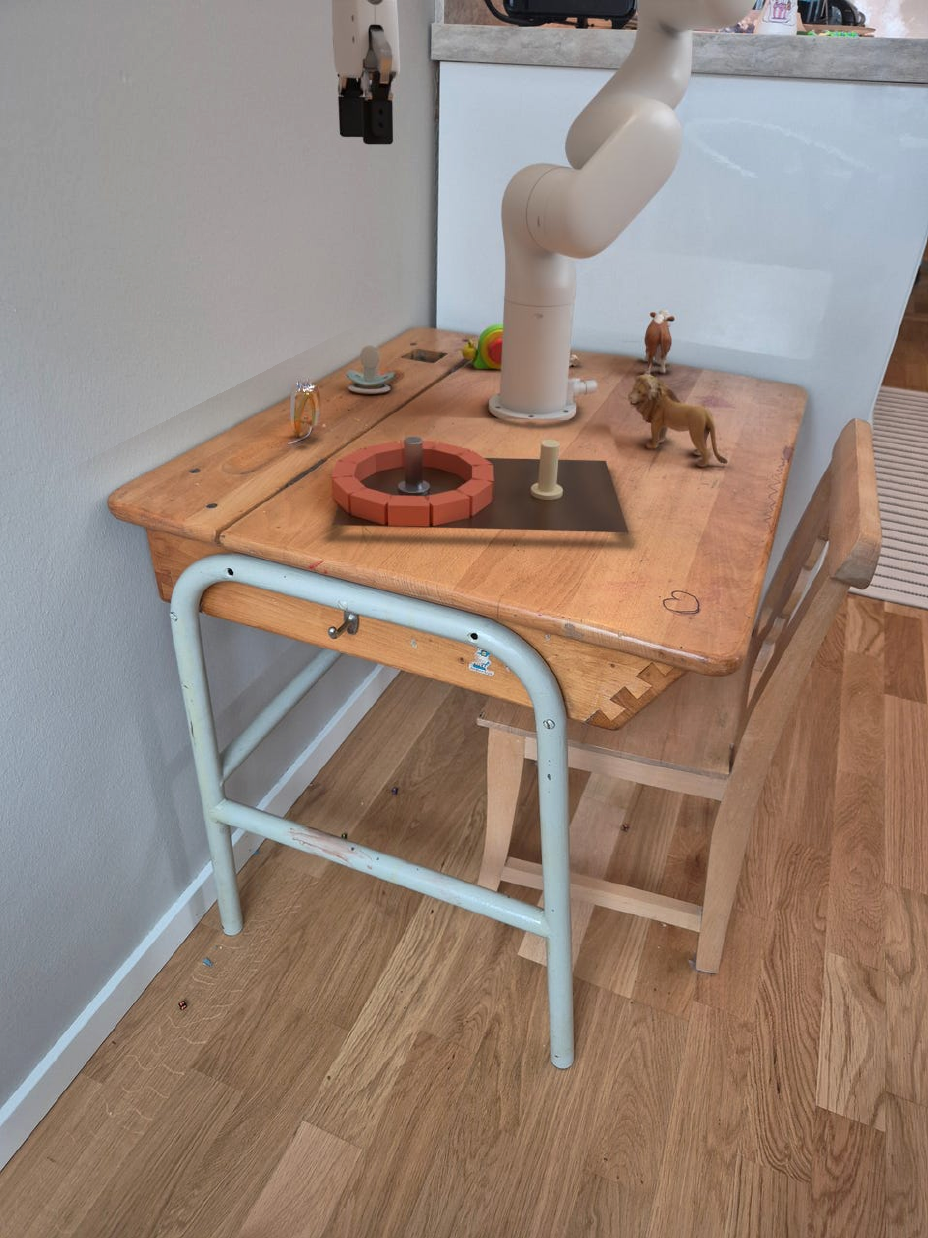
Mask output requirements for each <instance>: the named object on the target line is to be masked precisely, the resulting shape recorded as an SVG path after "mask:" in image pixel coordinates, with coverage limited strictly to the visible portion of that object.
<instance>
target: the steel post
mask: <svg viewBox="0 0 928 1238" xmlns="http://www.w3.org/2000/svg"><path fill="white" fill-rule="evenodd" d="M403 441H404V457H405V481H402V482H400V483H399V484H398V492H399V493H400V494H402V495H404V496H424V495H426V494H428V493H429V491H430V485H429V483H428V482H426V481H423V445H422V441H423V439H422V437H418V436H408V437H406V438H404V440H403Z"/></svg>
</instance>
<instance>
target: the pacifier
mask: <svg viewBox="0 0 928 1238" xmlns="http://www.w3.org/2000/svg"><path fill="white" fill-rule="evenodd" d="M359 360H360V363H361V365H362V367H363V373H361V372H358V371H355V370H351V369H348V370H346V371H345V372H346V376H347V378H348V380H350V381H351V382H353V383H351V384H348V386H347V389H348V390H349V391H351V392H353V393H358V394H364V395H365V394H366V395H375V394H384V393H387V392H389V391H390V390H391V387H390V386H389V385H387V384H386V383H387V382H389V381H390V380H391V379H392V378H393V377H394V376H395V374H396V373H395V371H391V372H388V373H384V374H381V375H379V371H378V369H379V368H378V365H379V364H380V361H381V354H380V351H379V350H378V348H376V346H374V345H366V346H364V347H363V348H362V349H361V350H360V353H359Z"/></svg>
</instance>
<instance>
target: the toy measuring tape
mask: <svg viewBox="0 0 928 1238" xmlns="http://www.w3.org/2000/svg"><path fill="white" fill-rule="evenodd" d="M502 336H503V323H495V324H491V325H490V326H488V327H486V328H485V329H484V330H483V331H482V332H481V334H480V335H479V338H478V341H477V347H476V346H475V343H474V341H473V339H469V340H468V341H467V344H465V345H464V346H463V347H462V350H461V354H462V356H463V358H464V359H466V360H469V361H471V360H472V366H473V367H474V369H475V370H485V369H486V370H492V369H493V370H501V359H502ZM579 363H580V359H579V358H578V356H577V355H576V354H570V361H569V367H571V366H573V367H576V366H578V365H579Z"/></svg>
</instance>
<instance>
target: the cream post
mask: <svg viewBox="0 0 928 1238" xmlns="http://www.w3.org/2000/svg"><path fill="white" fill-rule="evenodd" d="M560 445H561V444H560V442H559V441H557V440H553V439H545V440H542V441H541V443H540V452H539V453H540V454H539V459H540V467H539V481H538V483H536V484H534V485H532V487H531V495H532V496H533V497H535V498H538V499H542V500H555V499H558V498H560V497H561V496H562V493H563V489H562V487H561V486H559V485H557V484H556V480H557V468H558V460H559V457H560V456H559V455H560Z"/></svg>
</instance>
